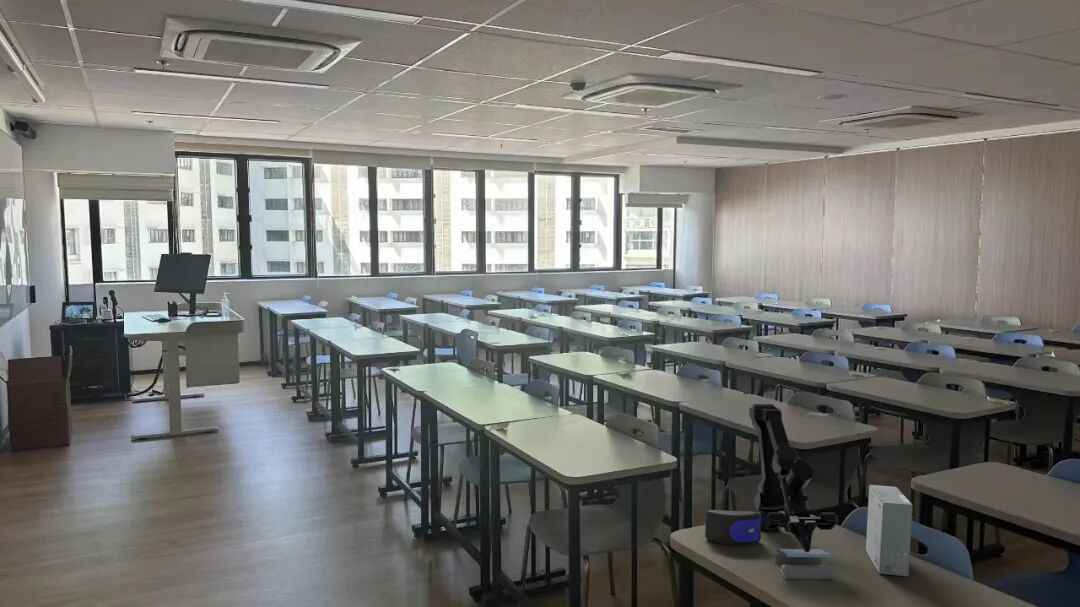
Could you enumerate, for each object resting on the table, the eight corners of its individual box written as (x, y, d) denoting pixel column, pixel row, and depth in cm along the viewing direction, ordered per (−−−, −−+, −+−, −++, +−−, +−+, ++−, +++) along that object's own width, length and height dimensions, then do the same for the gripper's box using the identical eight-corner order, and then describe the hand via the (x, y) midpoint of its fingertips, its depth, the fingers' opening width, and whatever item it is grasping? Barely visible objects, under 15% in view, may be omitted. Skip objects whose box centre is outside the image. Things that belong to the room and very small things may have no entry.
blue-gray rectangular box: (776, 552, 197) (776, 549, 197) (820, 552, 197) (820, 549, 197) (786, 556, 189) (786, 553, 189) (832, 557, 189) (831, 554, 189)
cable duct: (774, 564, 197) (774, 552, 197) (821, 565, 197) (821, 552, 197) (784, 579, 189) (785, 566, 188) (833, 579, 189) (834, 567, 188)
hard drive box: (909, 577, 190) (913, 505, 189) (878, 574, 192) (882, 503, 190) (893, 552, 206) (896, 485, 204) (864, 550, 207) (867, 483, 205)
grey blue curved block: (706, 545, 210) (707, 514, 209) (704, 538, 214) (705, 508, 214) (763, 547, 208) (764, 516, 208) (759, 541, 213) (760, 510, 212)
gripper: (819, 508, 206) (832, 562, 196) (754, 508, 206) (765, 562, 196) (831, 492, 198) (846, 547, 188) (764, 491, 198) (775, 547, 188)
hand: (807, 551), depth 190 cm, fingers closed
